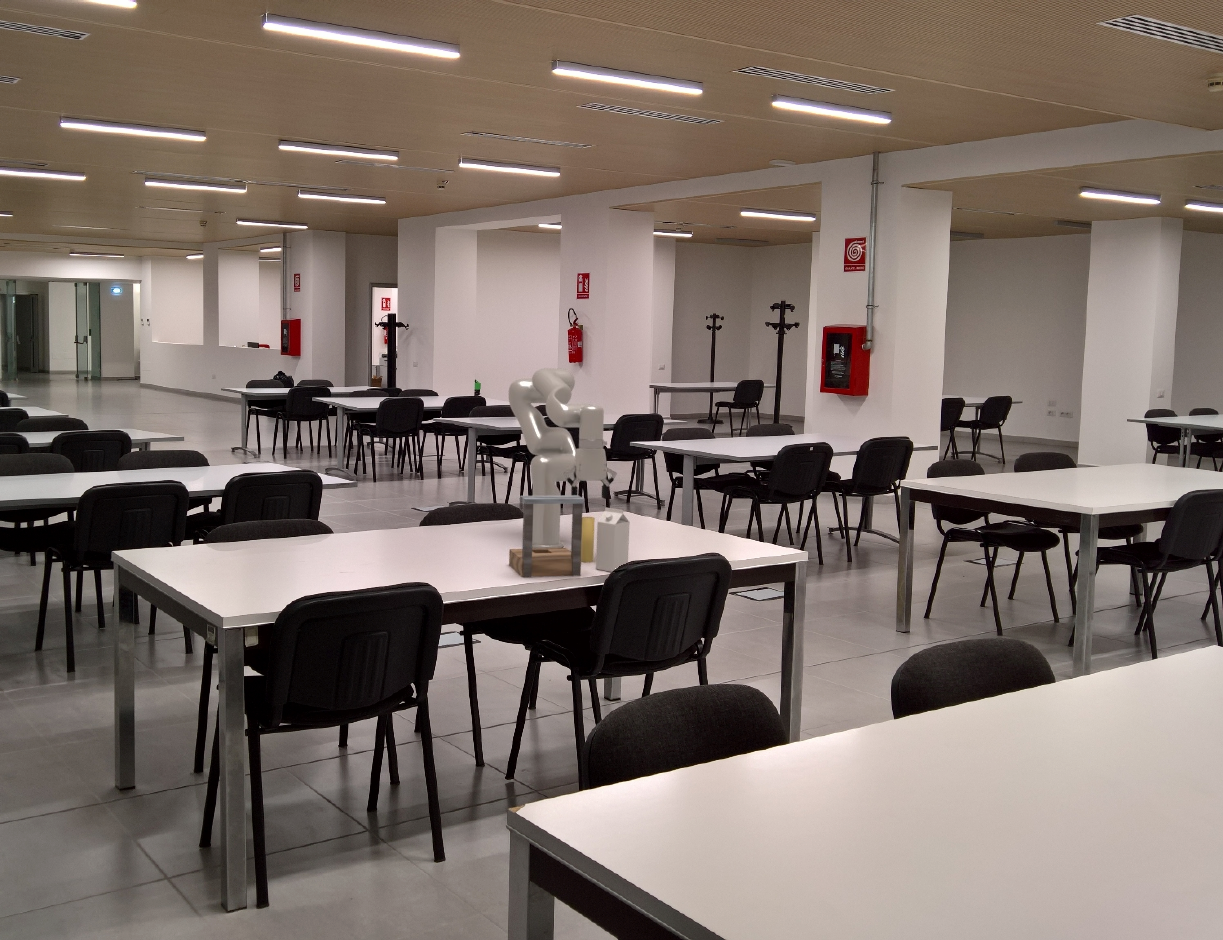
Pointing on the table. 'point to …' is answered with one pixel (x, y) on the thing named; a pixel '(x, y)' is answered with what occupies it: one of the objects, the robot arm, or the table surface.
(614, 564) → the milk carton
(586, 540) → the peg
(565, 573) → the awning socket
